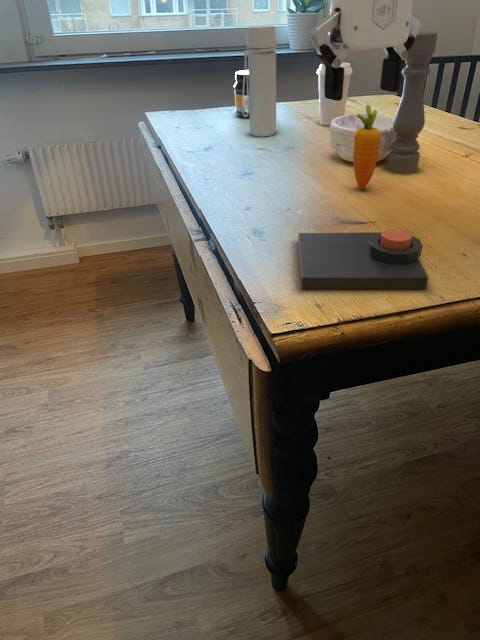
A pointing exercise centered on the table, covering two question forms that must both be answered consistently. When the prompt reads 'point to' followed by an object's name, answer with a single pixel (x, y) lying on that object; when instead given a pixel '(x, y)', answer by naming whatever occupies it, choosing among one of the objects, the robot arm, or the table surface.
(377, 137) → the carrot
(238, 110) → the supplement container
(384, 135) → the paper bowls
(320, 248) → the black push button box
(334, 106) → the coffee cup
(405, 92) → the candle holder
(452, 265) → the table surface
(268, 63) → the water bottle
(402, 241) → the button
